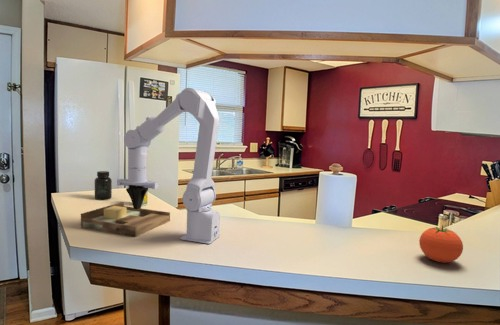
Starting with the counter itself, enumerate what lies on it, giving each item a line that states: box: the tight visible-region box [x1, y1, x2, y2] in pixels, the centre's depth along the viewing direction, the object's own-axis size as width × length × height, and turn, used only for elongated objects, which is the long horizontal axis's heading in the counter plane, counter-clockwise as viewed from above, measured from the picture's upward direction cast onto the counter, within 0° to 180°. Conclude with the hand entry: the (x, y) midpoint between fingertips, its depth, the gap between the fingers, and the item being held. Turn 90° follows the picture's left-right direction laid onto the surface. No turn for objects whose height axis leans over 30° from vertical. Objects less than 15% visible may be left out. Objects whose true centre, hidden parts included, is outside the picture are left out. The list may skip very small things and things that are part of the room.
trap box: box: [80, 201, 171, 238], centre depth 107 cm, size 20×19×4 cm
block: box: [104, 206, 127, 219], centre depth 109 cm, size 5×5×3 cm
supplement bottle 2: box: [141, 191, 148, 207], centre depth 134 cm, size 5×5×10 cm
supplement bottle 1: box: [94, 170, 113, 201], centre depth 142 cm, size 7×7×12 cm
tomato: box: [418, 225, 464, 263], centre depth 87 cm, size 10×10×10 cm
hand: (137, 208), depth 106 cm, fingers closed
